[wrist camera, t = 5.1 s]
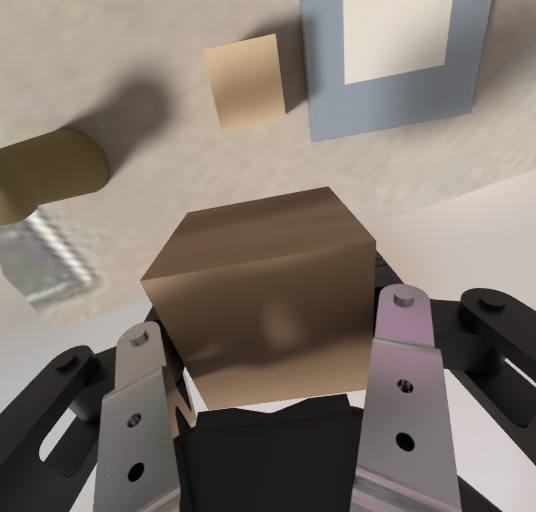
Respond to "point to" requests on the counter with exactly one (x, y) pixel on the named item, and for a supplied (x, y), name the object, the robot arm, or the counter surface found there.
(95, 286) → the counter surface
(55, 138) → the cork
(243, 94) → the oak cube
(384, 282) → the robot arm
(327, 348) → the walnut block
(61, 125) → the counter surface
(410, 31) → the board
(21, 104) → the counter surface
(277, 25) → the counter surface
